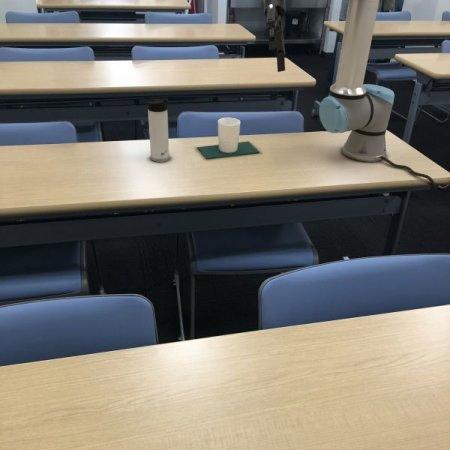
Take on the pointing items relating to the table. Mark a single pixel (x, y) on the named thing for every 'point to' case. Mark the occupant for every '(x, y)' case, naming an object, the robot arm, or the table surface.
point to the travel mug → (158, 129)
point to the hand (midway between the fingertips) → (277, 60)
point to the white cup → (228, 134)
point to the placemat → (214, 152)
